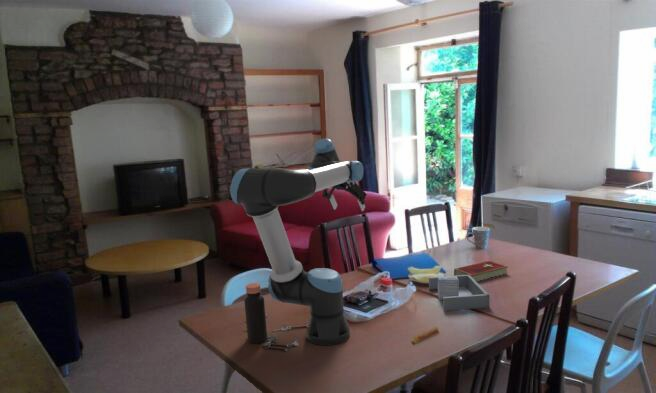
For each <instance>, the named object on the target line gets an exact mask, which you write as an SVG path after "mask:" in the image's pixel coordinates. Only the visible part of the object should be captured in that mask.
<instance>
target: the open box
mask: <svg viewBox="0 0 656 393" xmlns="http://www.w3.org/2000/svg"><path fill="white" fill-rule="evenodd" d="M442 276H443V275H442ZM442 276H440V277H442ZM456 276H457V278H458V280H459V288H468V289H469V290H470V292H471V293H473V294H469V295H468V294H467V295H459V296H451V297H443V300H442V309H443V311H457V310H459V311H460V310H472V309H486V308H490V293H489V292H487V291H486V290H485V289H484V288H483V287H482V286H481V285H480V283H478V281H477V282H476V281H475V280H474V279H473V278H472V277H471V276H470V275H456ZM438 277H439V276H433V277H432V276H431V277H430V276H429V277H428V289H429V290H438Z"/></svg>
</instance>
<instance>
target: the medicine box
mask: <svg viewBox="0 0 656 393" xmlns="http://www.w3.org/2000/svg"><path fill="white" fill-rule="evenodd" d="M437 277H438V289H437V296H438V300H439V301H443V297H451V296H460V295H459V293H460V291H459V290H460V289H459V288H460V287H459V280H458V278H457V276H454V275H444V276H443V275H442V277H441V276H437Z"/></svg>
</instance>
